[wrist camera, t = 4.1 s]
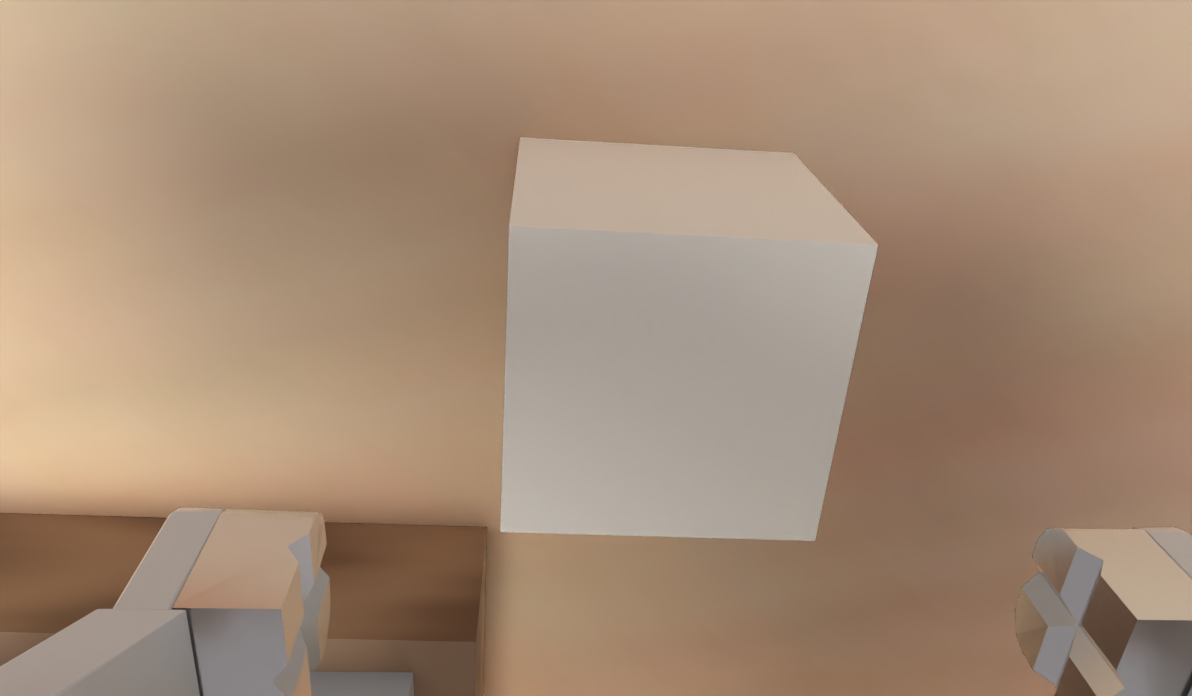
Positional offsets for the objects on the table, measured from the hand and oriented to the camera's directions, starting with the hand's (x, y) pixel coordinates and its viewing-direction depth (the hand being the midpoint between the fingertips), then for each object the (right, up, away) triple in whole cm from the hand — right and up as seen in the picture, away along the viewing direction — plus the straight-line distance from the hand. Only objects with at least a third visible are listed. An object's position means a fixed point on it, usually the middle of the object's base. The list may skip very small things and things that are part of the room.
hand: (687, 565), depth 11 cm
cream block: (0, +4, +7) cm, 8 cm away
